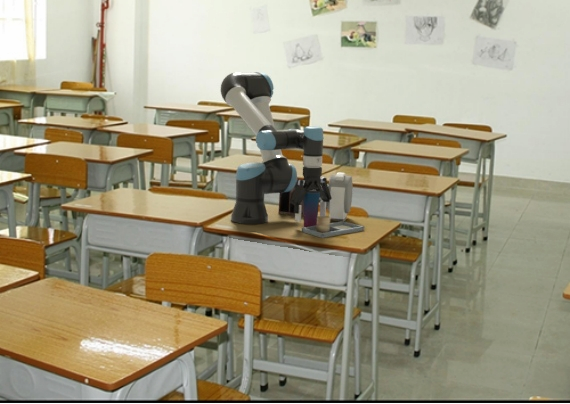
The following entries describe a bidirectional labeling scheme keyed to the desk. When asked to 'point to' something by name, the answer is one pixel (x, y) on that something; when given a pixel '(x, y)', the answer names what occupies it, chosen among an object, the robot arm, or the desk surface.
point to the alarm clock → (340, 196)
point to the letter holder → (287, 203)
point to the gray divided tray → (334, 229)
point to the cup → (311, 208)
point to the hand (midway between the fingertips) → (310, 219)
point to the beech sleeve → (323, 224)
